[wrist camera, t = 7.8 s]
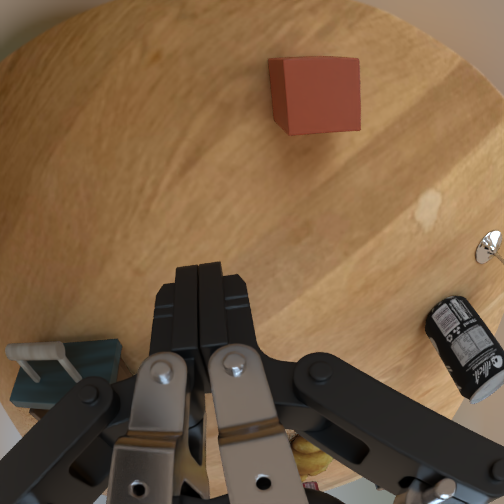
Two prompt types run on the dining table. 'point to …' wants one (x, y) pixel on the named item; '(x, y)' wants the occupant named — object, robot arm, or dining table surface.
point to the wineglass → (489, 247)
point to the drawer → (61, 370)
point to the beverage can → (466, 348)
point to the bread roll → (309, 458)
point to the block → (316, 94)
